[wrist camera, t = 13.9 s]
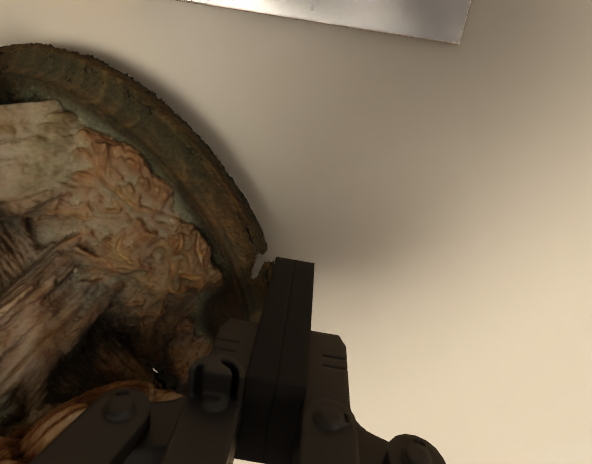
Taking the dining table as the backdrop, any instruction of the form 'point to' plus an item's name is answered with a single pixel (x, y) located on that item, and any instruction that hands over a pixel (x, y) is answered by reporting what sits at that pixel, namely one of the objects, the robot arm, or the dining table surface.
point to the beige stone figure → (107, 244)
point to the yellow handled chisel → (368, 15)
